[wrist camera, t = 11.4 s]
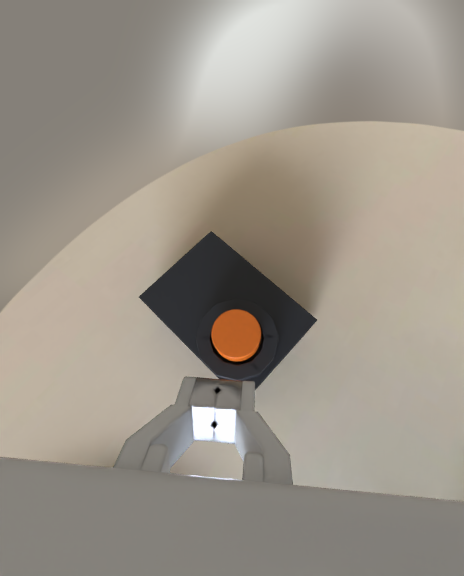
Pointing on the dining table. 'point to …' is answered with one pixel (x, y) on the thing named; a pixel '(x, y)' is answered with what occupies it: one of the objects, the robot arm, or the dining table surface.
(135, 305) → the dining table surface
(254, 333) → the orange push button
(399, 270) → the dining table surface
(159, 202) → the dining table surface
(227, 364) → the button base
